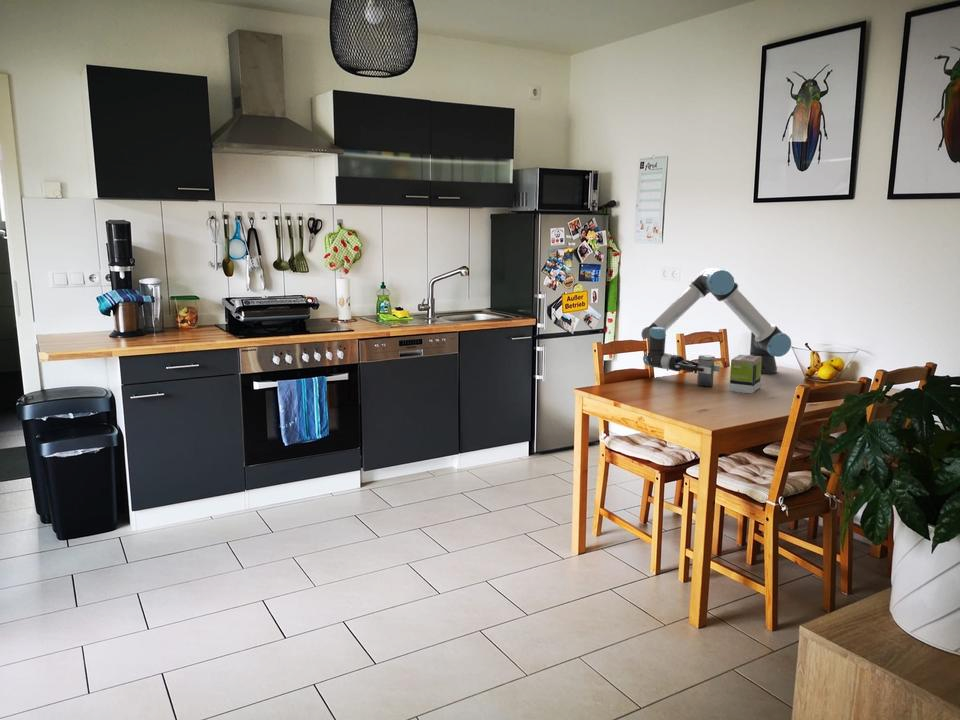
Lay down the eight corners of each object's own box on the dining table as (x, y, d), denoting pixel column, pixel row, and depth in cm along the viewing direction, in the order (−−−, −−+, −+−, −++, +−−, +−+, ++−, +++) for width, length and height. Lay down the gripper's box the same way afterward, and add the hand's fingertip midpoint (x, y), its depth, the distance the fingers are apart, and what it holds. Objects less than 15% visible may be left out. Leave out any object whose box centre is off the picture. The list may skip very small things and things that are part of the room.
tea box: (737, 385, 331) (740, 353, 328) (760, 388, 326) (763, 356, 323) (728, 391, 319) (731, 358, 316) (752, 394, 313) (754, 361, 311)
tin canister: (704, 382, 334) (706, 354, 332) (716, 385, 328) (718, 357, 326) (693, 383, 331) (695, 355, 328) (705, 386, 324) (707, 358, 322)
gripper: (685, 367, 348) (727, 375, 331) (659, 372, 336) (702, 381, 319) (685, 352, 347) (728, 359, 330) (660, 357, 335) (703, 364, 317)
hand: (715, 370), depth 324 cm, fingers closed on tin canister, 7 cm apart
